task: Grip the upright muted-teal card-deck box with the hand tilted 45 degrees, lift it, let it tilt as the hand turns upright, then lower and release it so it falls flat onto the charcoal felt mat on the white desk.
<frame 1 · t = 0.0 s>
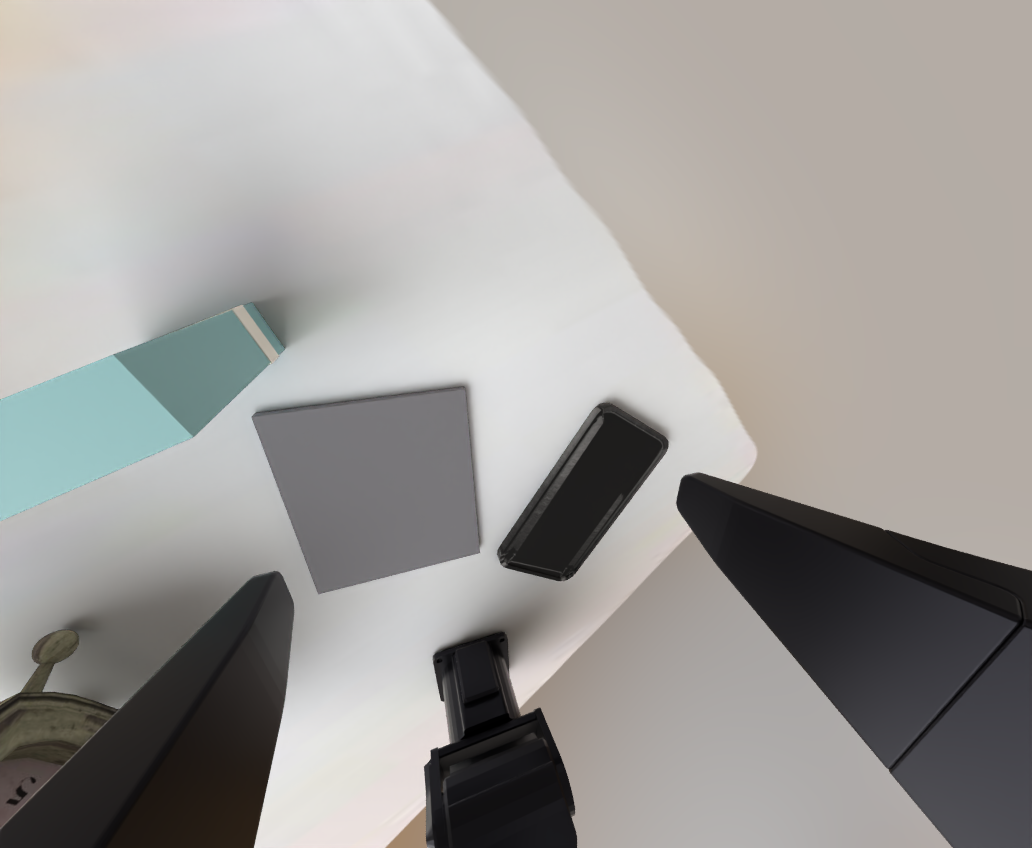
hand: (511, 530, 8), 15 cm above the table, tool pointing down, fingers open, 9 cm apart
phone: (577, 493, 29), on the table
deck box: (217, 347, 17), on the table
tabletop clock: (106, 693, 23), on the table
felt mat: (387, 493, 23), on the table
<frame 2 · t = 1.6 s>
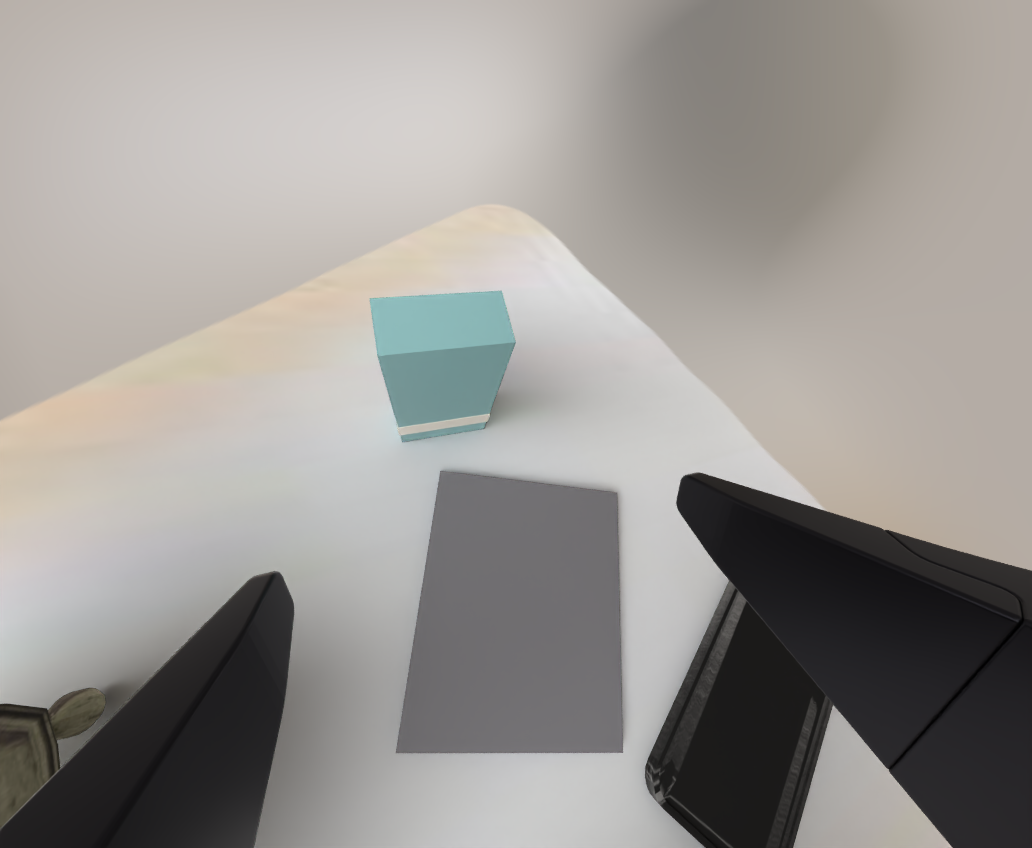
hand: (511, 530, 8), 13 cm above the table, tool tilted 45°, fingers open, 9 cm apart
phone: (746, 689, 21), on the table
deck box: (440, 417, 23), on the table
felt mat: (522, 600, 20), on the table
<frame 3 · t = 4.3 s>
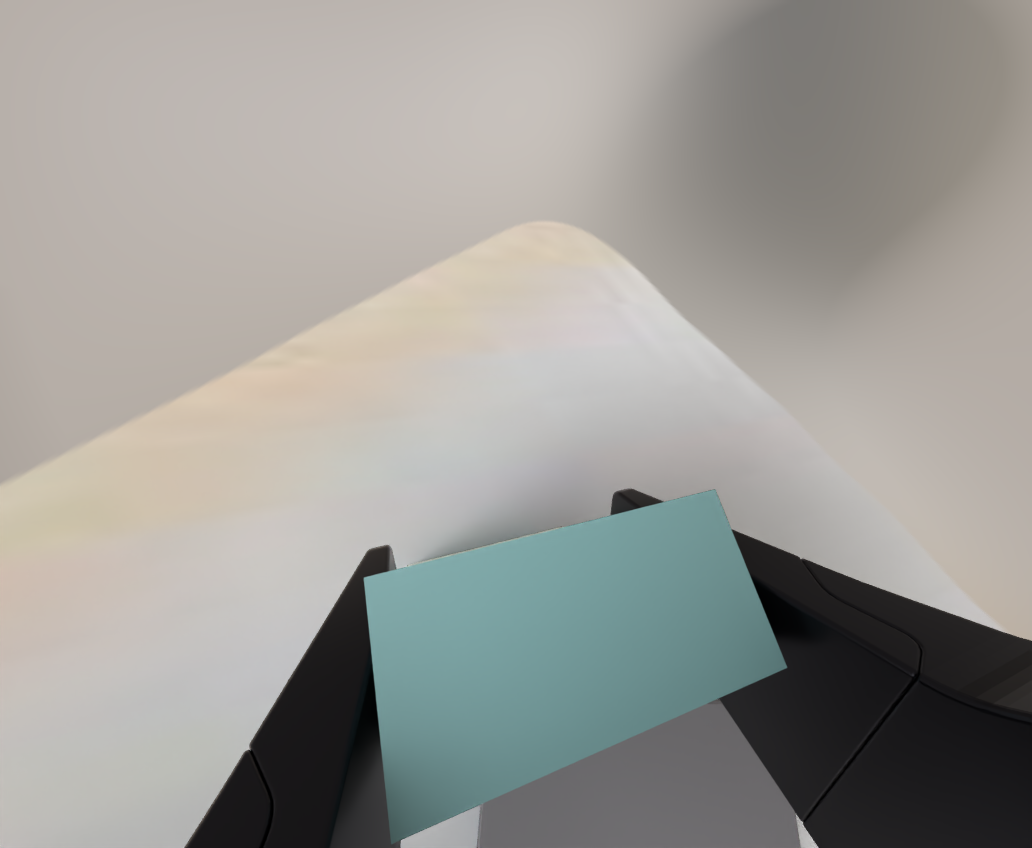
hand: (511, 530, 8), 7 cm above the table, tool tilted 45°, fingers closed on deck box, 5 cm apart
deck box: (486, 581, 14), on the table, touching gripper
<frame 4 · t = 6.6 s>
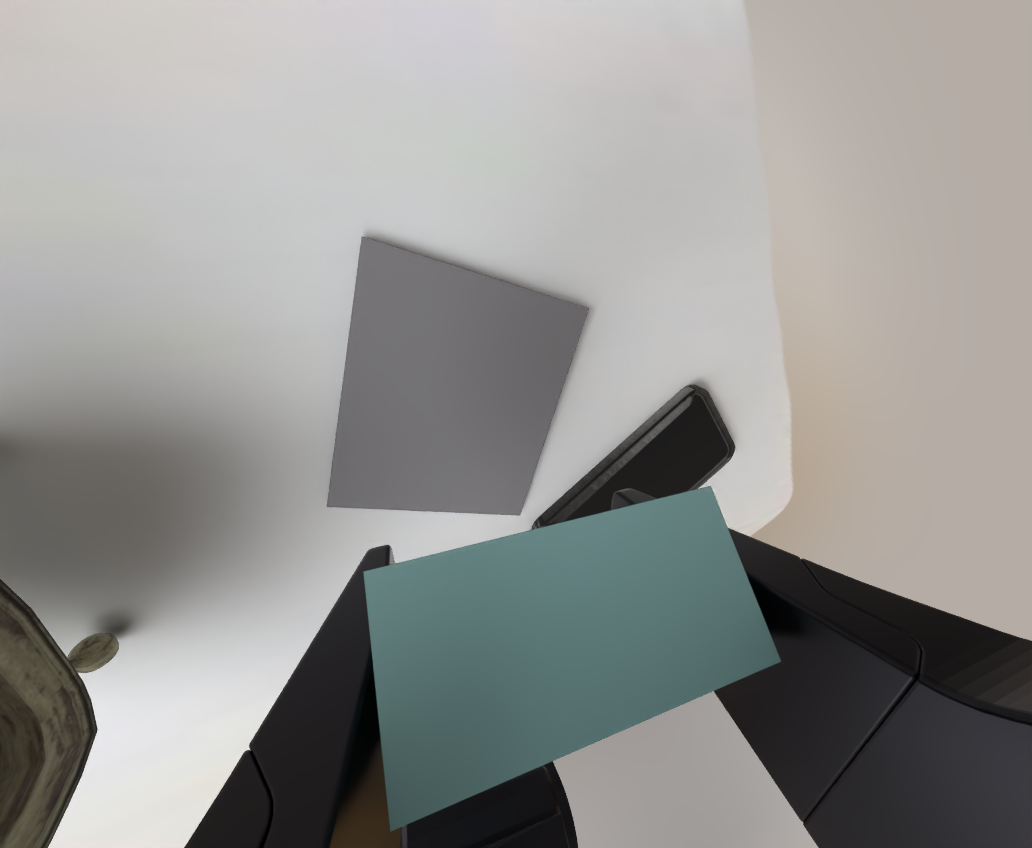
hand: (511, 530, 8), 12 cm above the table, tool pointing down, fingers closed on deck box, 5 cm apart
phone: (630, 482, 26), on the table
deck box: (486, 579, 14), point 8 cm above the table, tilted 44°, touching gripper
felt mat: (456, 403, 19), on the table
when the fingers open (6 cm above the table, at t = 8.5 s): deck box moves 2 cm and tips over, resting on felt mat.
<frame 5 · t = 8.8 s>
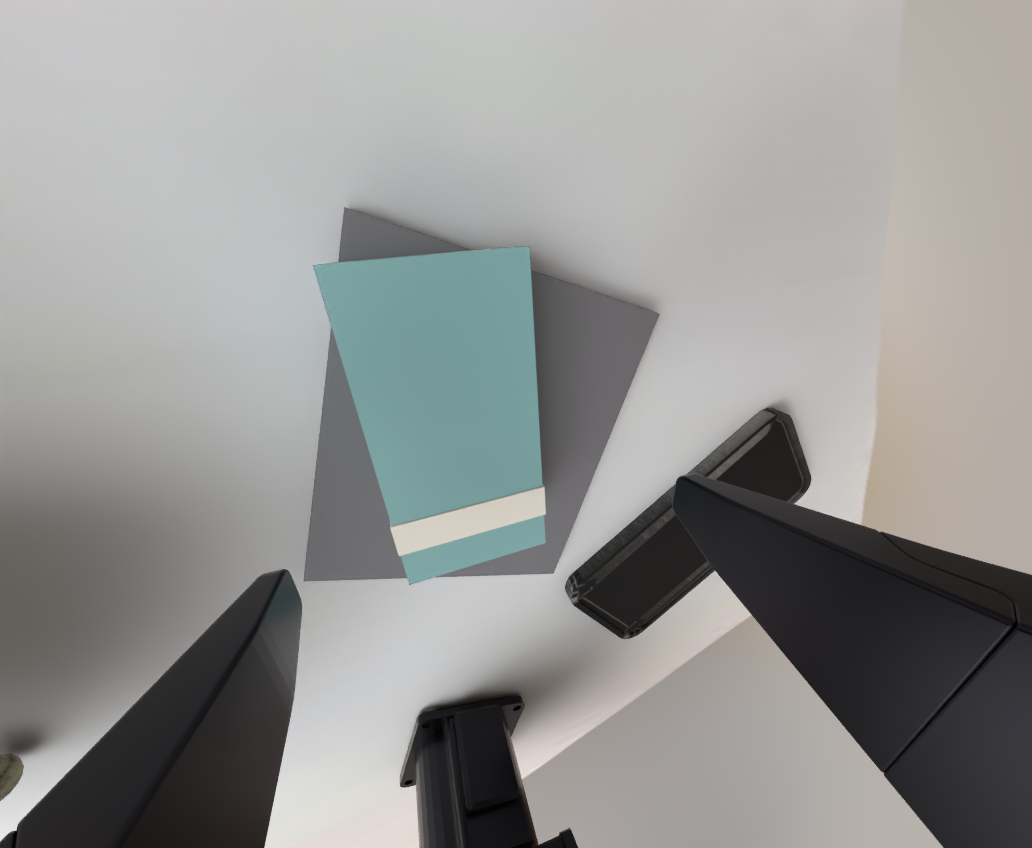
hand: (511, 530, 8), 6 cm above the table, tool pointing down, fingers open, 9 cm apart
phone: (682, 523, 22), on the table
deck box: (473, 539, 14), point 2 cm above the table, tilted 90°, touching felt mat
felt mat: (478, 441, 14), on the table
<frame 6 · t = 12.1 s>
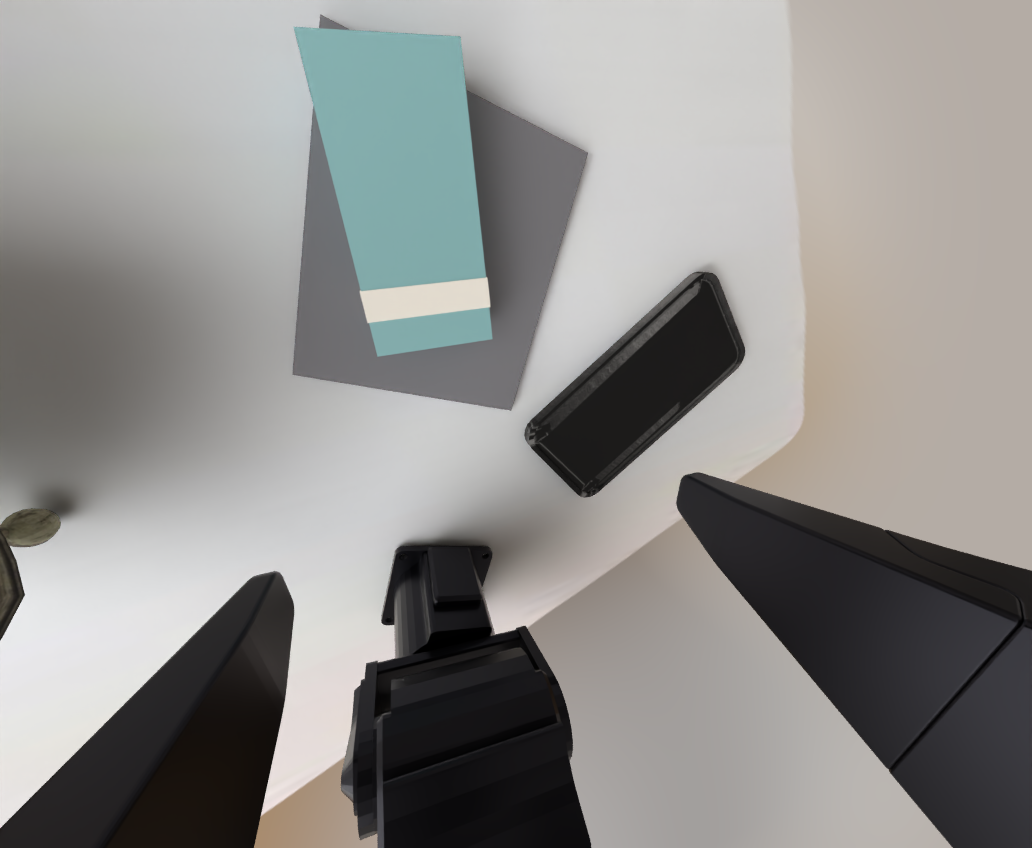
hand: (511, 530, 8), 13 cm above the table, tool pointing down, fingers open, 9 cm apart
phone: (631, 389, 24), on the table
deck box: (434, 341, 17), point 2 cm above the table, tilted 90°, touching felt mat
felt mat: (438, 263, 17), on the table
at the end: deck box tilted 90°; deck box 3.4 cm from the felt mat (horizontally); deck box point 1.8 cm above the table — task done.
